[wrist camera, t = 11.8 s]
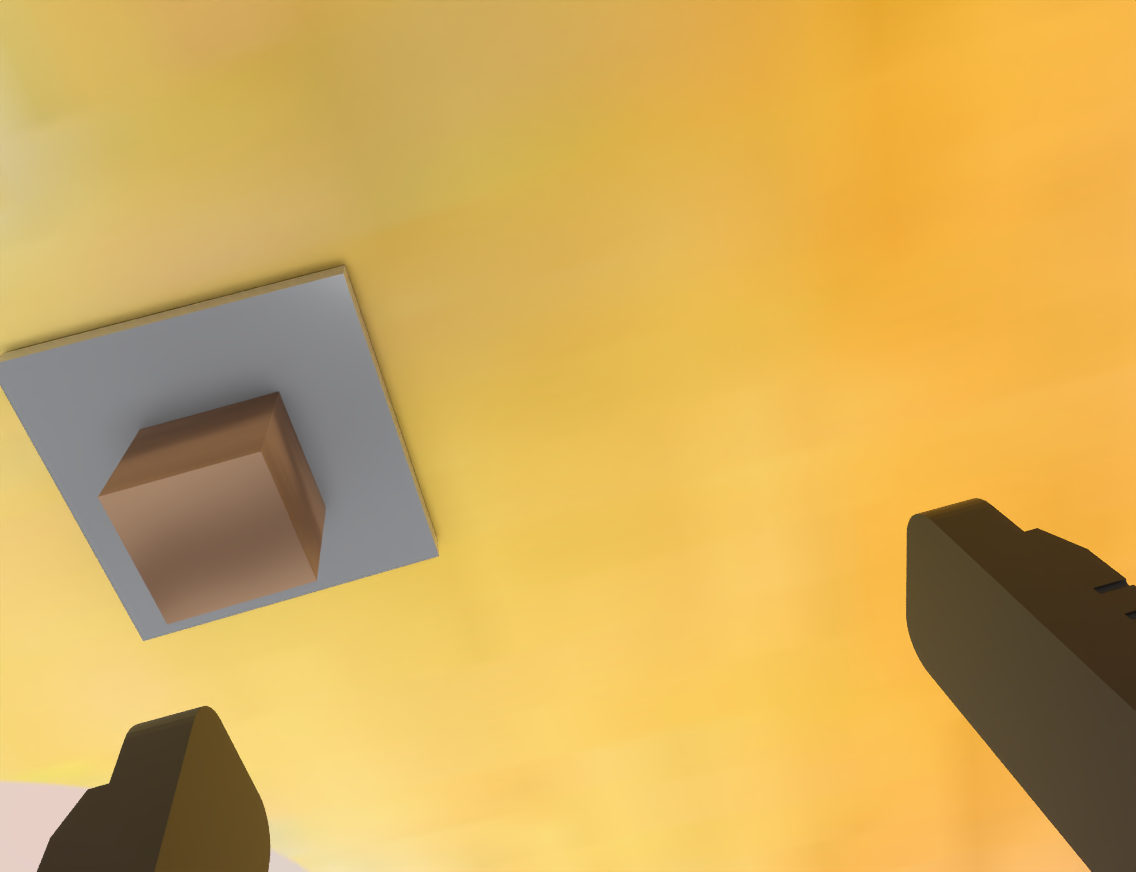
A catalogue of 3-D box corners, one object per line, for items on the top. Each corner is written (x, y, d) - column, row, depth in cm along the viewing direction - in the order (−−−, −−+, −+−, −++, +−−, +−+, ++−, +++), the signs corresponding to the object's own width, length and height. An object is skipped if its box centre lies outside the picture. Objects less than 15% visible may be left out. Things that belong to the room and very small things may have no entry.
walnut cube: (139, 429, 31) (97, 496, 26) (278, 391, 31) (260, 451, 26) (196, 544, 33) (167, 624, 28) (325, 507, 33) (316, 580, 29)
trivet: (3, 353, 30) (-11, 365, 29) (344, 264, 31) (343, 273, 30) (150, 622, 35) (143, 640, 34) (437, 540, 36) (438, 555, 35)
